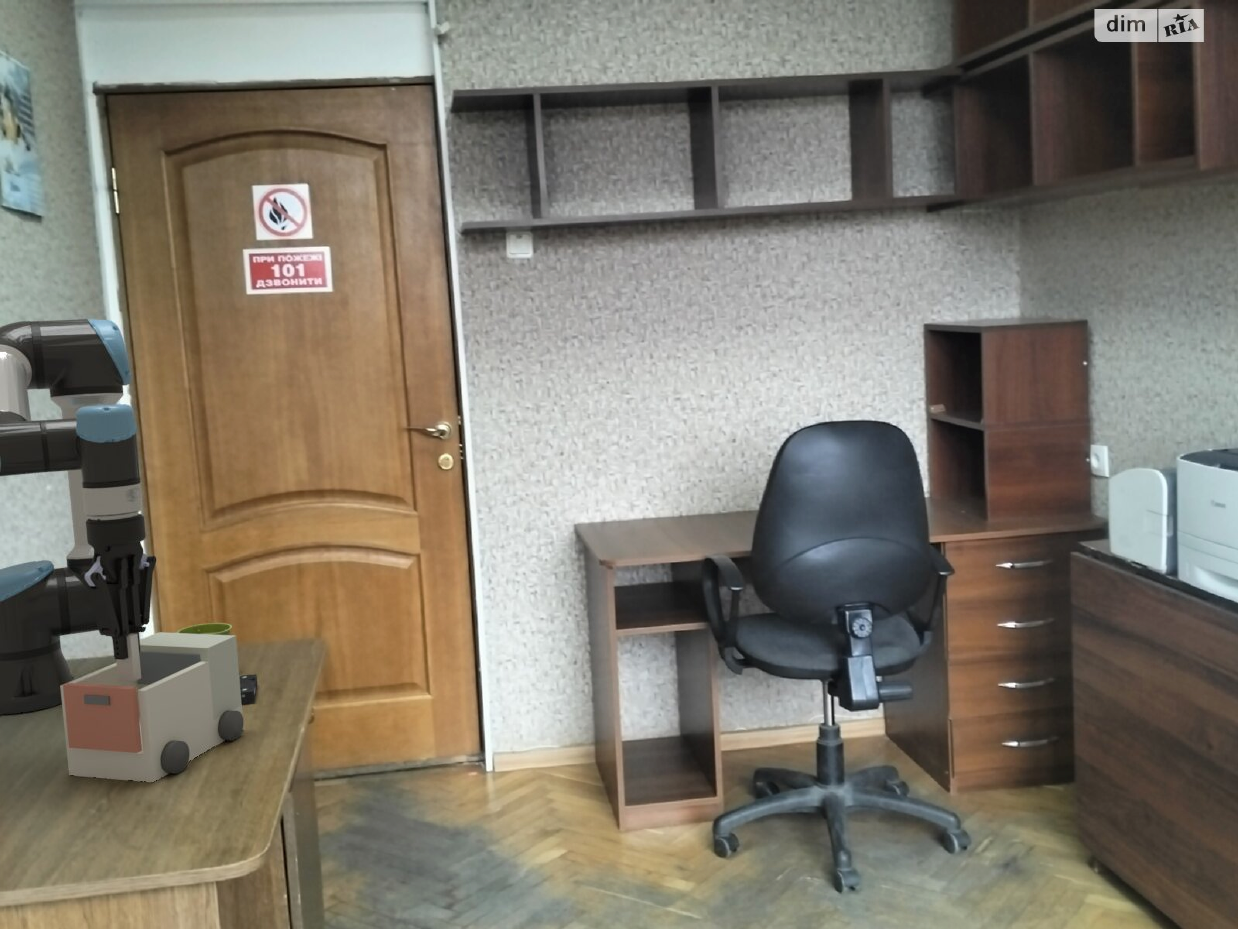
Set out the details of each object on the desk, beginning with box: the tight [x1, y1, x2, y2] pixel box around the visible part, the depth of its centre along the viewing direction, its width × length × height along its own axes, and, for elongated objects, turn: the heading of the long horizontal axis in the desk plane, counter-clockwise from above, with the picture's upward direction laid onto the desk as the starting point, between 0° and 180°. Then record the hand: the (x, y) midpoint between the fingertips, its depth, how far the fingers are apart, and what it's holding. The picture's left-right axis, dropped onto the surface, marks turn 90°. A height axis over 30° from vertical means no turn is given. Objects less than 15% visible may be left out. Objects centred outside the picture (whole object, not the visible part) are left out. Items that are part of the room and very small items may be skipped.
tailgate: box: [63, 683, 142, 753], centre depth 157 cm, size 11×1×9 cm, turn 74°
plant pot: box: [176, 622, 233, 635], centre depth 207 cm, size 9×9×9 cm
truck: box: [60, 631, 244, 783], centre depth 168 cm, size 17×21×15 cm
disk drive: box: [239, 673, 258, 706], centre depth 193 cm, size 10×3×15 cm
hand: (129, 679), depth 163 cm, fingers closed
